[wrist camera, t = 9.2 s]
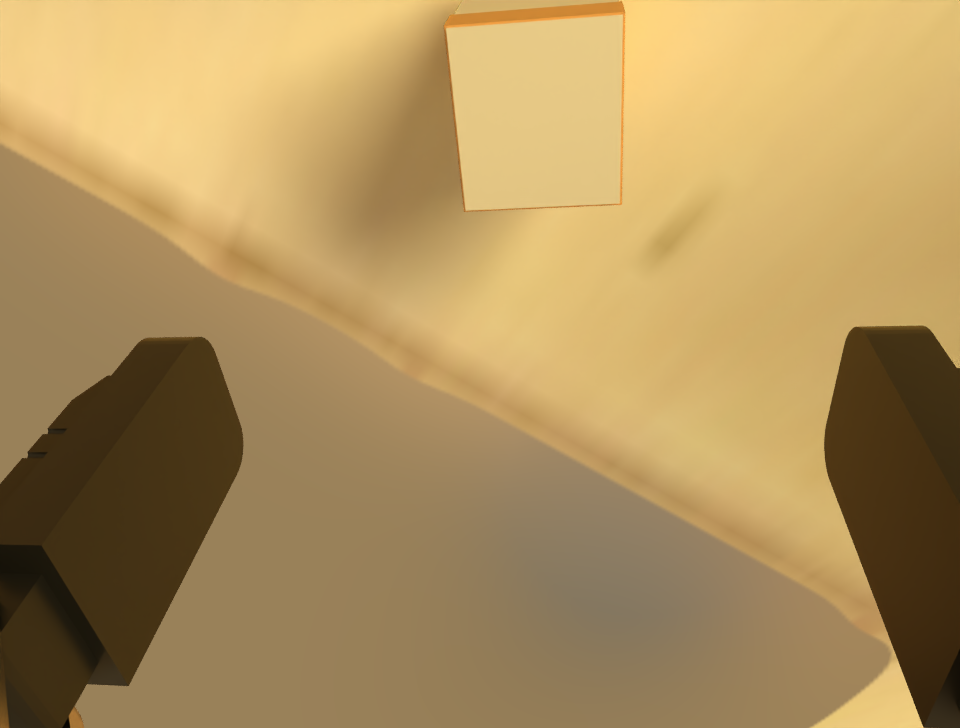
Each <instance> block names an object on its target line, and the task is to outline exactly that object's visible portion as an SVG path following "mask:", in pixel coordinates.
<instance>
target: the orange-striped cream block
mask: <svg viewBox="0 0 960 728" xmlns="http://www.w3.org/2000/svg"><path fill="white" fill-rule="evenodd" d="M444 32H445V41H446V50H447V59H448V69H449V78H450V87H451V96H452V105H453V114H454V124H455V133H456V142H457V151H458V160H459V169H460V178H461V188H462V197H463V206H464V212H470V211H492V210H514V209H536V208H558V207H580V206H602V205H622V157H623V101H624V45H625V10H624V7H623V3H622V1H620V2H619V0H462V1H461V3H460V5H459V7H458V8H457V10H456V12H455V14H454V15H450V16H449V18H448V20H447V21H446V23H445V25H444Z"/></svg>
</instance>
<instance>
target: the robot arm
mask: <svg viewBox="0 0 960 728" xmlns="http://www.w3.org/2000/svg"><path fill="white" fill-rule="evenodd" d="M824 451H825V462H826V468H827V472H828V476H829V479H830V482H831V485H832V487H833V490H834V493H835V495H836V498H837V501H838V503H839V506H840V508H841V511H842V514H843V516H844V519H845V522H846V524H847V527H848V530H849V532H850V535H851V537H852V540H853V543H854V545H855V548H856V551H857V553H858V556H859V559H860V561H861V564H862V567H863V569H864V572H865V574H866V577H867V580H868V582H869V585H870V588H871V590H872V593H873V596H874V598H875V601H876V603H877V606H878V609H879V611H880V614H881V617H882V619H883V622H884V625H885V627H886V630H887V632H888V635H889V638H890V640H891V643H892V646H893V648H894V651H895V654H896V656H897V659H898V661H899V664H900V667H901V669H902V672H903V675H904V677H905V680H906V683H907V685H908V688H909V690H910V693H911V696H912V698H913V701H914V704H915V706H916V709H917V712H918V714H919V717H920V719H921V722H922V725H923V727H924V728H960V368H956V367H955V365H954V364H953V362H952V361H951V359H950V358H949V356H948V355H947V353H946V352H945V350H944V349H943V348H942V346H941V345H940V343H939V342H938V340H937V339H936V337H935V336H934V334H933V333H932V332H931V331H930V329H928V328H927V327H925V326H878V327H854V328H853V329H852V330H851V331H850V332H849V334H848V336H847V338H846V341H845V345H844V349H843V353H842V358H841V362H840V366H839V371H838V375H837V380H836V384H835V389H834V393H833V397H832V402H831V406H830V411H829V415H828V419H827V424H826V429H825V440H824ZM242 455H243V434H242V428H241V425H240V422H239V419H238V416H237V414H236V411H235V408H234V405H233V402H232V399H231V396H230V393H229V390H228V388H227V385H226V382H225V379H224V376H223V373H222V370H221V368H220V365H219V362H218V359H217V356H216V354H215V351H214V349H213V347H212V346H211V344H210V343H209V341H208V340H206V339H205V338H203V337H165V338H146V339H143V340H141V341H140V342H139V343H138V344H137V345H136V346H135V347H134V349H133V350H132V351H131V352H130V354H129V355H128V356H127V357H126V358H125V360H124V361H123V362H122V363H121V365H120V366H119V367H118V368H117V370H116V371H115V372H114V373H113V374H112V375H111V376H106V377H105V378H103V379H102V380H100V381H99V382H98V383H96V384H95V385H93V386H92V387H90V388H89V389H88V390H86V391H85V392H83V393H82V394H80V395H79V396H77V397H76V398H75V399H73V400H72V401H71V402H70V403H69V404H68V405H67V407H66V408H65V409H64V410H63V411H62V413H61V414H60V415H59V416H58V417H57V418H56V420H55V421H54V422H53V423H52V424H51V425H50V427H49V428H48V434H43V435H42V436H41V437H40V438H39V439H38V441H37V442H36V443H35V444H34V445H33V446H32V448H31V449H30V450H29V451H28V458H22V459H21V461H20V462H19V463H18V464H17V465H16V466H15V467H14V468H13V470H12V471H11V472H10V473H9V474H8V475H7V477H6V478H5V479H4V480H3V481H2V482H1V484H0V728H84V725H83V721H82V718H81V715H80V714H79V712H78V711H77V709H76V708H75V704H76V702H77V700H78V699H79V697H80V695H81V694H82V692H83V690H84V688H85V686H86V685H87V684H97V685H118V686H129V684H130V682H131V680H132V678H133V676H134V674H135V672H136V670H137V668H138V667H139V664H140V662H141V661H142V659H143V657H144V655H145V653H146V651H147V649H148V647H149V645H150V643H151V641H152V639H153V637H154V635H155V633H156V631H157V629H158V627H159V625H160V624H161V621H162V619H163V618H164V616H165V614H166V612H167V610H168V608H169V606H170V604H171V602H172V600H173V598H174V596H175V594H176V592H177V590H178V588H179V587H180V585H181V583H182V581H183V579H184V577H185V575H186V573H187V571H188V569H189V567H190V565H191V563H192V561H193V559H194V557H195V555H196V553H197V551H198V549H199V547H200V545H201V544H202V542H203V540H204V538H205V535H206V534H207V532H208V530H209V528H210V526H211V524H212V522H213V520H214V518H215V516H216V514H217V512H218V510H219V508H220V506H221V504H222V503H223V501H224V499H225V497H226V494H227V493H228V491H229V489H230V487H231V484H232V483H233V481H234V479H235V477H236V475H237V473H238V471H239V468H240V465H241V461H242Z"/></svg>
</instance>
